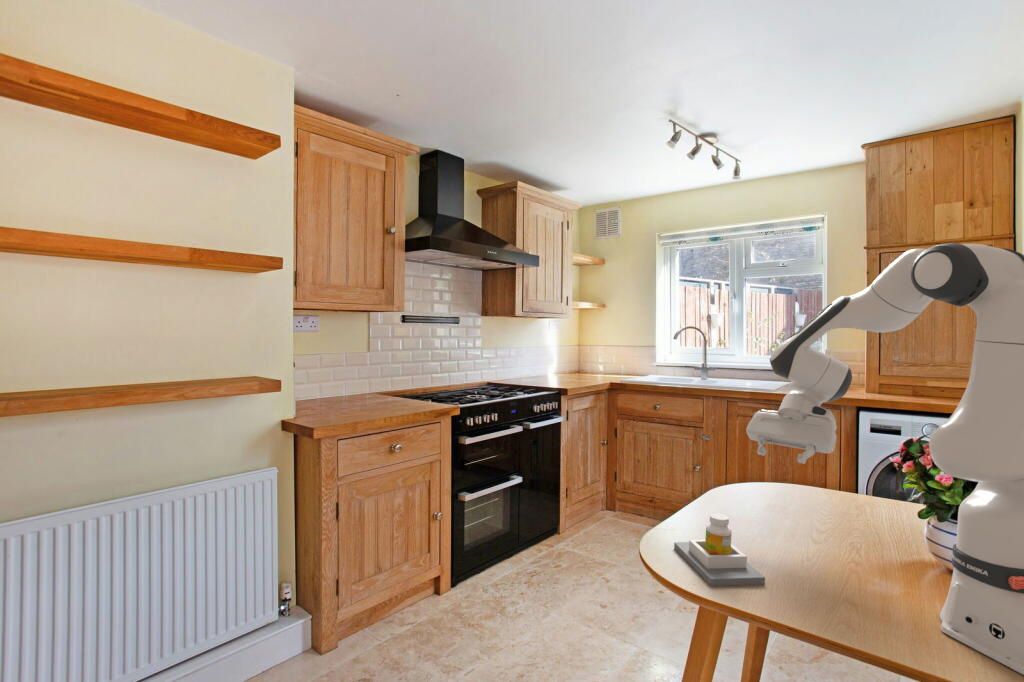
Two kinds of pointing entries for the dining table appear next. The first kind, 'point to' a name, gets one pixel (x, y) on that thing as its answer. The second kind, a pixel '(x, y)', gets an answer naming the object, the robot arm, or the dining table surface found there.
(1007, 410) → the robot arm
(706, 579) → the socket board
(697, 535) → the dining table surface
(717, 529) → the supplement bottle
